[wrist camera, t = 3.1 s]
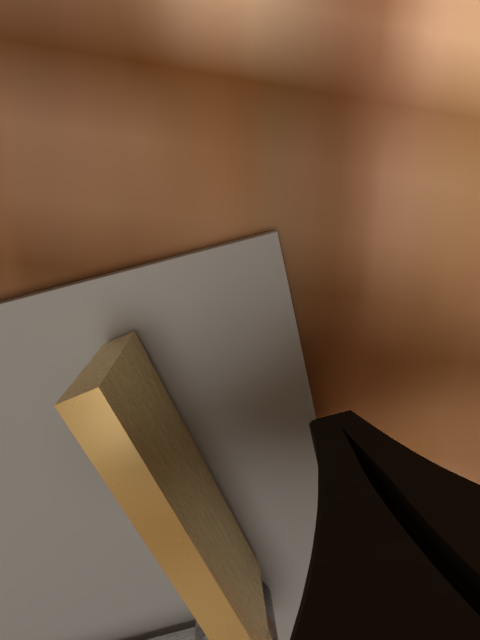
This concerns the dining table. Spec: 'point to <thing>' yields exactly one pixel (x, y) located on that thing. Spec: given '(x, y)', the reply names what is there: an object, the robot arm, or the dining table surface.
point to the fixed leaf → (195, 636)
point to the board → (198, 417)
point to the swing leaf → (166, 488)
